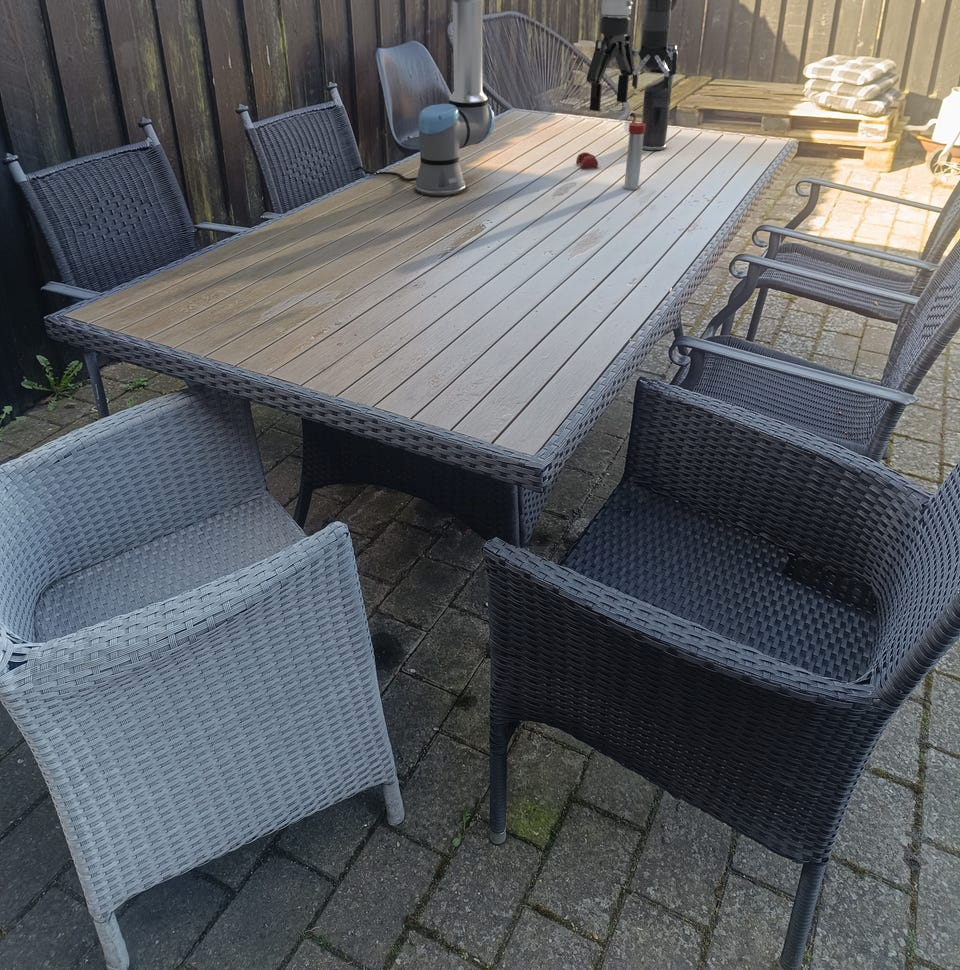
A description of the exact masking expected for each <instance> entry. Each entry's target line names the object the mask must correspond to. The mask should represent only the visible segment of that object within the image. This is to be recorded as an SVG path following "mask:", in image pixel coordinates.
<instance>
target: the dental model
mask: <svg viewBox="0 0 960 970" xmlns="http://www.w3.org/2000/svg"><path fill="white" fill-rule="evenodd" d="M575 162H576V163H575V164H576V165H580V168H581V169H593V168H594V169H595V168H598V167H599V162H598V160H597V158H596V155H593V154H590V152H587V151H585V152H581V153H580V154H578V155H577V157H576V160H575Z"/></svg>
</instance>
